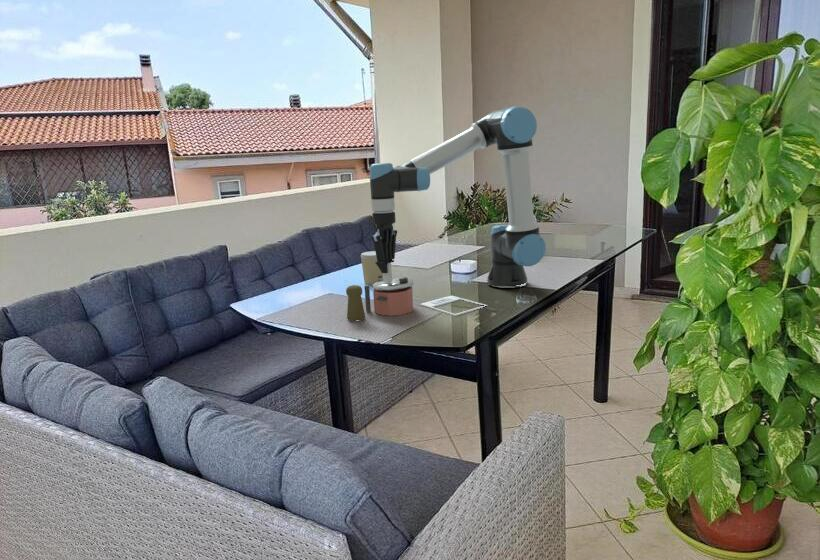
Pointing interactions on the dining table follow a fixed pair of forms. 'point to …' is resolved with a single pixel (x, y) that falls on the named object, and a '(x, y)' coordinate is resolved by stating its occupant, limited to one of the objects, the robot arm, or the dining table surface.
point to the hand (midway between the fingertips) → (387, 281)
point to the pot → (390, 301)
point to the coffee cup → (371, 267)
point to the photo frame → (445, 301)
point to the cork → (355, 303)
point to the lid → (393, 284)
